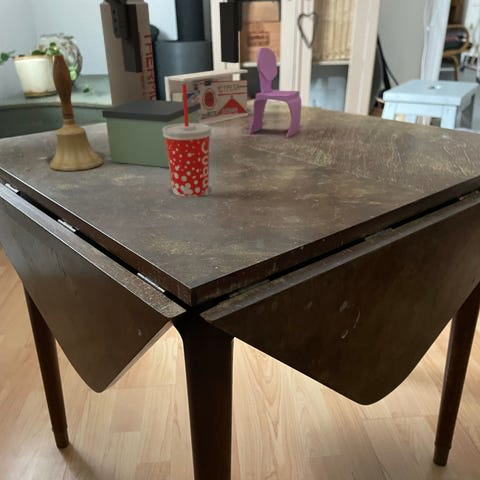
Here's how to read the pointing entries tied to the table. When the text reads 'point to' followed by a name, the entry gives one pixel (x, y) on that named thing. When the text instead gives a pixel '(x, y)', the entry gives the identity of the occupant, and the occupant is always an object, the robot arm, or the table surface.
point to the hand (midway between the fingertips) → (184, 67)
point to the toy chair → (273, 93)
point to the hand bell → (70, 127)
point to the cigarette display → (211, 94)
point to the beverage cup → (188, 155)
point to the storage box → (144, 129)
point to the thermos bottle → (122, 82)
